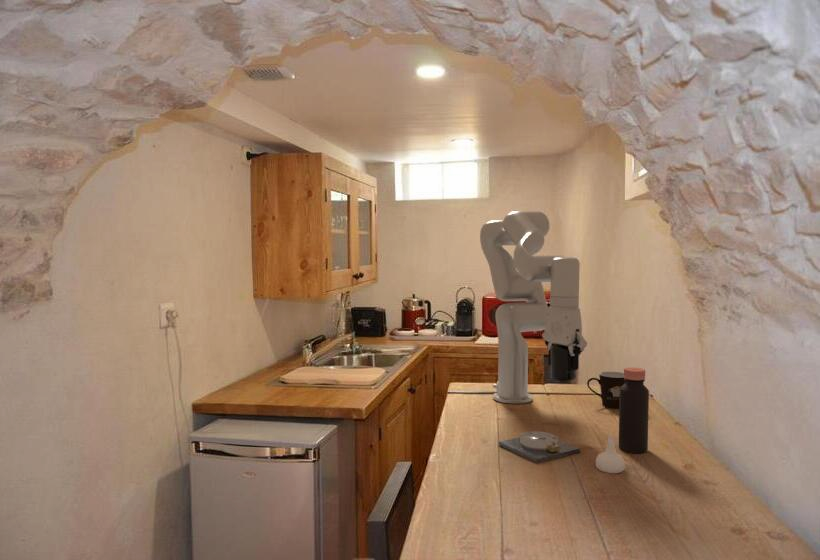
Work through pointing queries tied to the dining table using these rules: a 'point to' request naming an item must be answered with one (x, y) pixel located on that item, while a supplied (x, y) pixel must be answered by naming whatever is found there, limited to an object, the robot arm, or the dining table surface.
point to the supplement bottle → (561, 363)
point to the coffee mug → (609, 388)
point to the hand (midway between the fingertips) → (563, 366)
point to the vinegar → (633, 412)
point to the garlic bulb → (610, 459)
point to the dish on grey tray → (539, 446)
